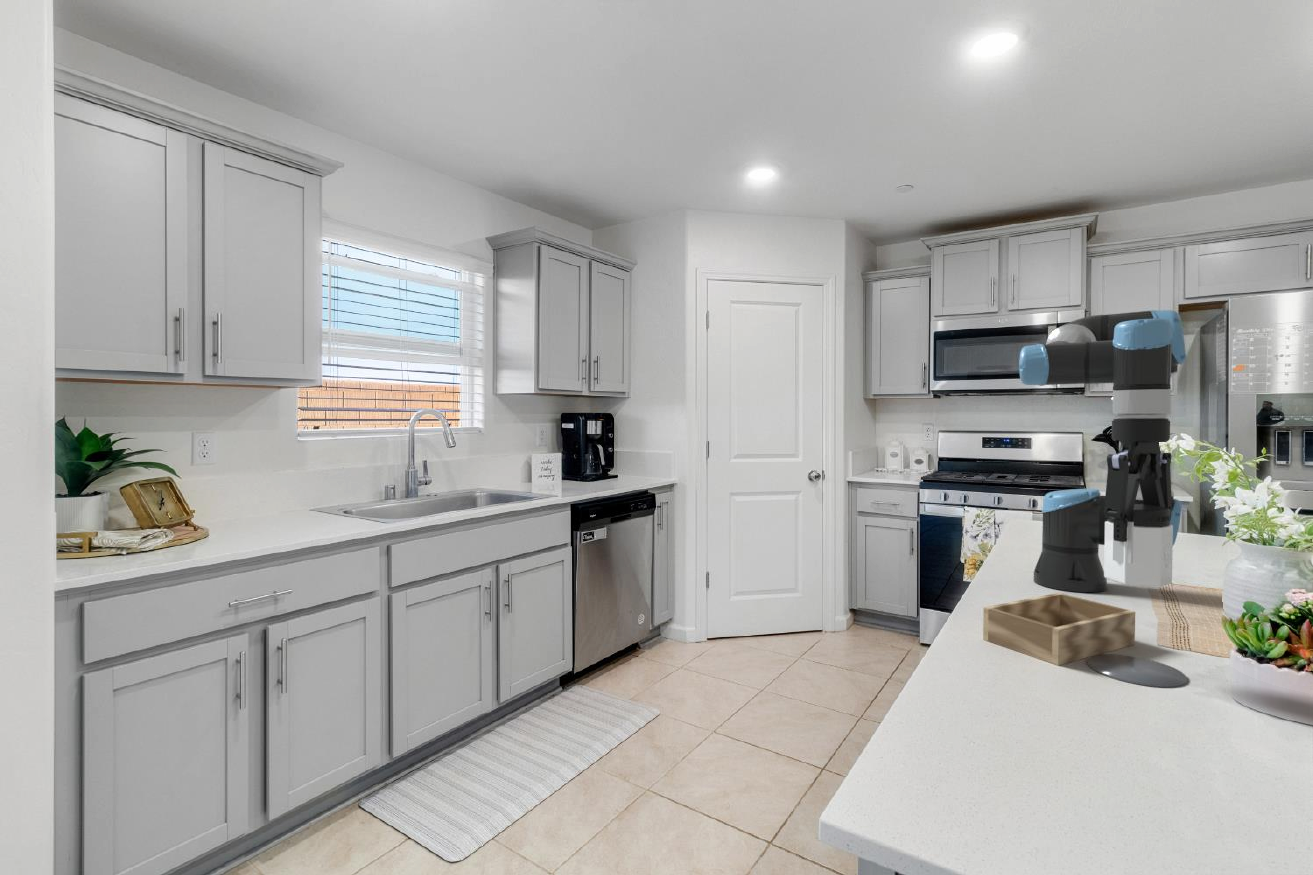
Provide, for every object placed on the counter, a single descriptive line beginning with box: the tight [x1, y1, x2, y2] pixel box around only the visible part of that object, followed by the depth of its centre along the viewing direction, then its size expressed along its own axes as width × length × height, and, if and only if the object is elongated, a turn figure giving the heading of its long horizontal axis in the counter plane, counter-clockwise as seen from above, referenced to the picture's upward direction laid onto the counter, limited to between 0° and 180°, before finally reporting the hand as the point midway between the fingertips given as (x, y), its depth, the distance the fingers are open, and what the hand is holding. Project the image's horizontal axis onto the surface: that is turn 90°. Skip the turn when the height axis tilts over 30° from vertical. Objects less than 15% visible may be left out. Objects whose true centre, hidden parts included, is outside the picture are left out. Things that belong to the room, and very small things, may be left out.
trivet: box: [1087, 653, 1188, 688], centre depth 106 cm, size 13×13×1 cm
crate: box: [982, 592, 1136, 666], centre depth 119 cm, size 22×14×6 cm, turn 116°
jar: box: [1103, 504, 1174, 589], centre depth 105 cm, size 9×8×12 cm
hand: (1137, 558), depth 105 cm, fingers closed on jar, 7 cm apart
